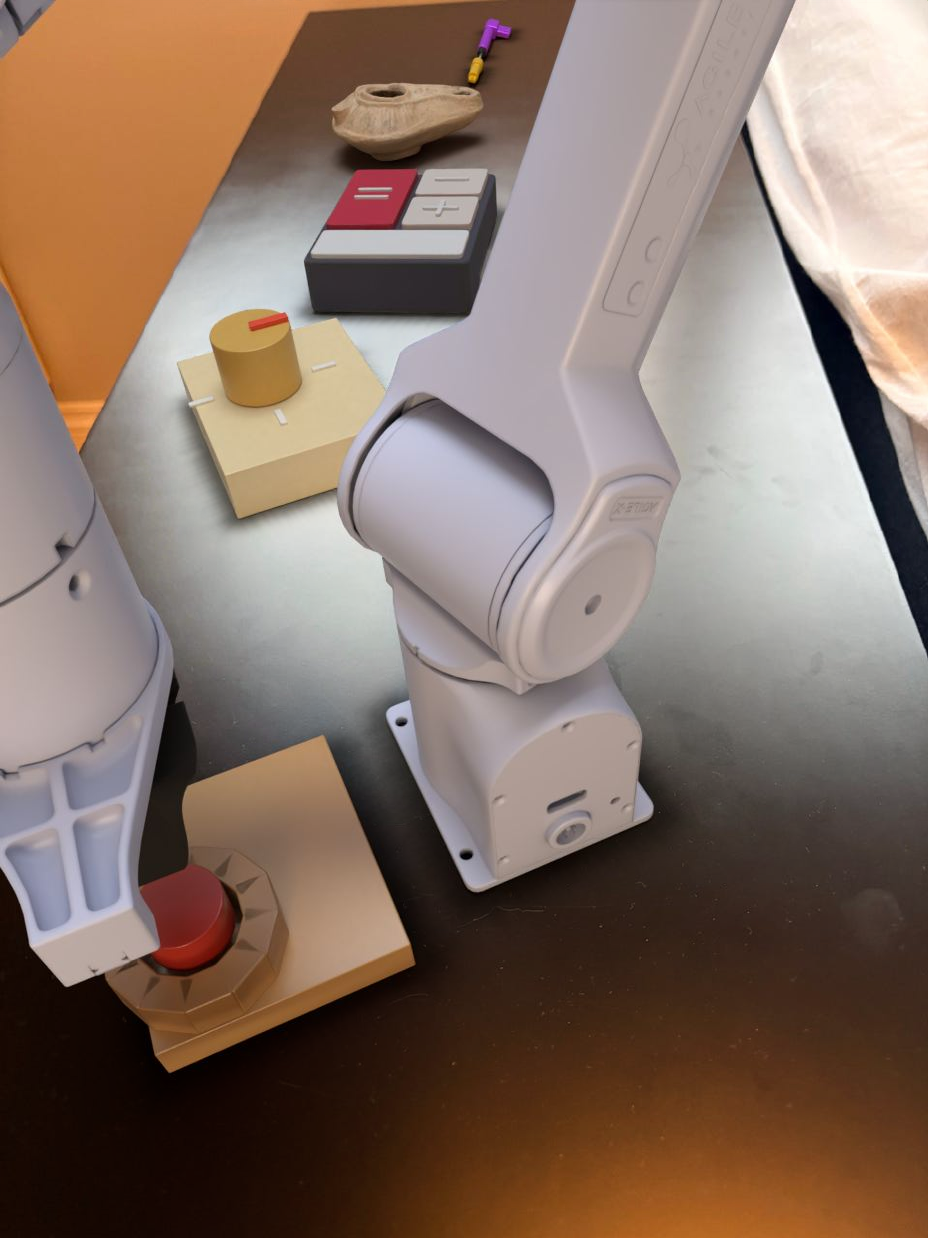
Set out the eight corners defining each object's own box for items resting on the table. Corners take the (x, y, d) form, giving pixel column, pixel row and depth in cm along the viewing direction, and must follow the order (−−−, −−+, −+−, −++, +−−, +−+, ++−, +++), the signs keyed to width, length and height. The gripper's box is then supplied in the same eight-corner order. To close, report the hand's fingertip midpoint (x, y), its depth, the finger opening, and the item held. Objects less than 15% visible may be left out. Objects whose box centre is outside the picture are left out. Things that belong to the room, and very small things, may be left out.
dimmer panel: (411, 464, 55) (405, 417, 53) (232, 521, 53) (218, 474, 51) (343, 359, 63) (335, 314, 61) (185, 405, 61) (170, 360, 59)
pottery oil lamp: (498, 150, 83) (468, 83, 76) (369, 210, 86) (330, 151, 79) (477, 77, 86) (447, 7, 80) (354, 137, 89) (315, 75, 83)
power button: (245, 949, 33) (233, 925, 32) (157, 987, 32) (140, 964, 31) (224, 876, 35) (211, 850, 34) (139, 909, 34) (124, 885, 33)
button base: (416, 965, 36) (405, 920, 33) (150, 1082, 33) (116, 1044, 31) (330, 757, 42) (315, 707, 40) (103, 844, 40) (72, 797, 37)
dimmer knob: (235, 415, 54) (217, 354, 52) (216, 375, 57) (199, 316, 55) (311, 393, 55) (298, 332, 53) (289, 355, 58) (276, 295, 55)
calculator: (496, 162, 73) (467, 250, 63) (498, 220, 76) (471, 314, 66) (351, 163, 75) (299, 249, 64) (358, 220, 78) (310, 312, 67)
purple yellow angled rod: (485, 27, 104) (464, 86, 94) (487, 15, 104) (466, 72, 93) (510, 33, 104) (492, 92, 94) (512, 21, 104) (494, 79, 93)
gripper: (-231, 405, 24) (-3, 735, 34) (-287, 901, 15) (49, 1158, 25) (59, 328, 26) (197, 665, 36) (174, 733, 17) (317, 1038, 26)
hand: (152, 862), depth 30 cm, fingers closed
